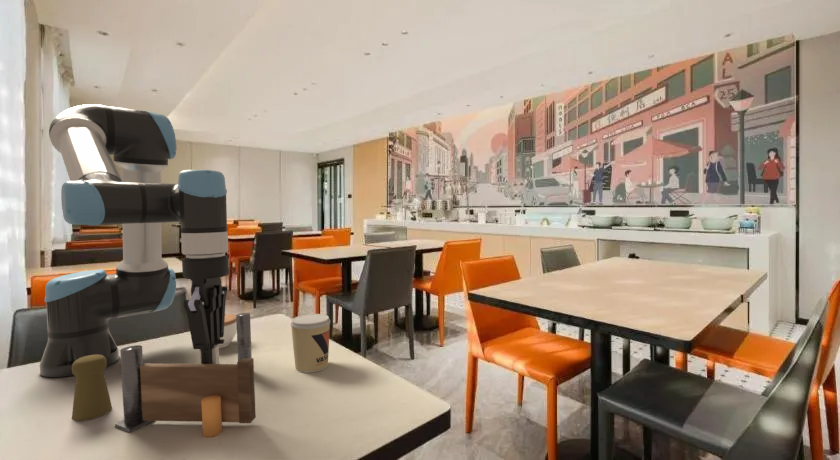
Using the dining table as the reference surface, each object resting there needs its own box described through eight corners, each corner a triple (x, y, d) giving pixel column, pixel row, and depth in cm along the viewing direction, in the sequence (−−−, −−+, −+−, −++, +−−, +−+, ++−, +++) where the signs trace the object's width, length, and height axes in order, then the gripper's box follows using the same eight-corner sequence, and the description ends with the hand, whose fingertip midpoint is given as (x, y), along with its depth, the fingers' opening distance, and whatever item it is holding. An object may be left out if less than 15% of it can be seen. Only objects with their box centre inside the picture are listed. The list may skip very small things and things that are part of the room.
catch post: (198, 434, 69) (197, 401, 69) (214, 426, 72) (212, 393, 72) (210, 438, 68) (209, 404, 68) (225, 429, 71) (224, 396, 70)
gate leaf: (149, 415, 74) (146, 357, 73) (255, 417, 73) (253, 358, 72) (141, 421, 72) (138, 361, 71) (250, 423, 71) (248, 362, 70)
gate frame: (114, 427, 72) (110, 350, 71) (243, 368, 98) (241, 312, 97) (129, 432, 70) (125, 354, 69) (257, 371, 96) (255, 314, 95)
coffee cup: (321, 375, 93) (319, 324, 93) (284, 372, 95) (283, 322, 94) (337, 360, 102) (336, 314, 102) (303, 358, 104) (302, 312, 104)
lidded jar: (212, 338, 121) (211, 307, 120) (245, 340, 119) (244, 308, 119) (187, 351, 110) (185, 317, 109) (223, 353, 108) (221, 319, 108)
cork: (67, 424, 73) (63, 365, 73) (77, 409, 79) (73, 354, 78) (108, 415, 76) (105, 359, 75) (115, 402, 81) (112, 349, 81)
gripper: (200, 251, 80) (205, 367, 81) (164, 260, 67) (171, 398, 68) (239, 250, 80) (243, 366, 82) (211, 259, 67) (217, 396, 69)
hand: (210, 380), depth 75 cm, fingers closed
